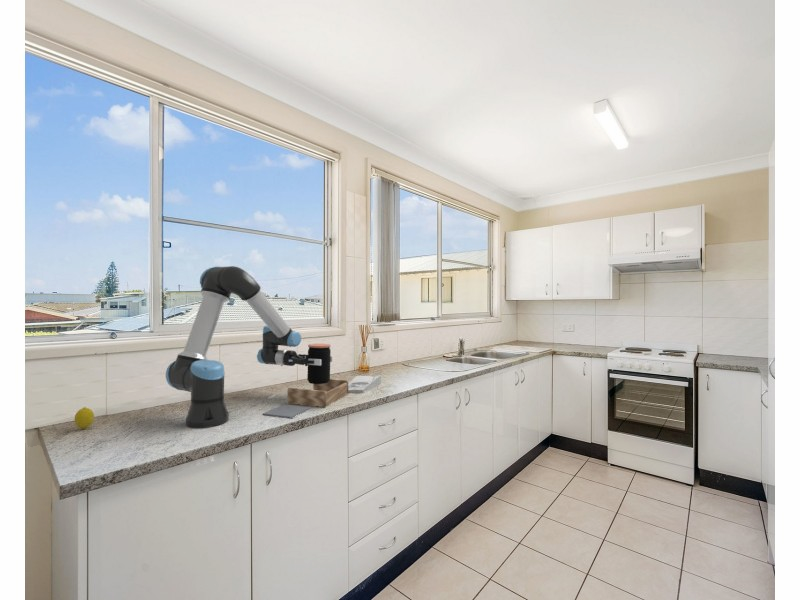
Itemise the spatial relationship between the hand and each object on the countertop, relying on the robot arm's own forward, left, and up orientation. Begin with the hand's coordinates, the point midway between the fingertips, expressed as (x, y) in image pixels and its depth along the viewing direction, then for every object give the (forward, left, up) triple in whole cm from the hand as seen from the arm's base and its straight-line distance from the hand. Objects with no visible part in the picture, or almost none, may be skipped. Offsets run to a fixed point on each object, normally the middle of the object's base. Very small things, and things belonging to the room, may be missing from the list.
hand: (326, 360), depth 184 cm
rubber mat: (-23, +6, -18) cm, 30 cm away
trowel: (+25, -8, -19) cm, 33 cm away
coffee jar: (0, +4, -11) cm, 12 cm away
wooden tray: (0, +4, -18) cm, 19 cm away
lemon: (-65, +64, -19) cm, 94 cm away
